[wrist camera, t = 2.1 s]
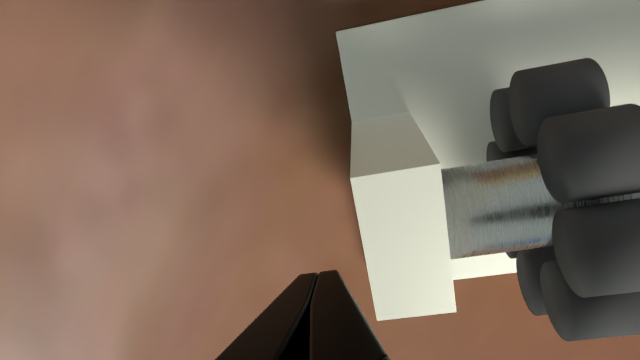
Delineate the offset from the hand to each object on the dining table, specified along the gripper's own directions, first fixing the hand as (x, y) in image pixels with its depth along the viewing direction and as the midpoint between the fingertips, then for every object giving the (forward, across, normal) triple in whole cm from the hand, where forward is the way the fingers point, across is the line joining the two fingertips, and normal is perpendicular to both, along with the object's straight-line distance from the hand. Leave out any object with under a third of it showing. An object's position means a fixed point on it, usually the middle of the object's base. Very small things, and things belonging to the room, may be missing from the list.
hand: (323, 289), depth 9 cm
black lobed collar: (+6, -6, 0) cm, 8 cm away
